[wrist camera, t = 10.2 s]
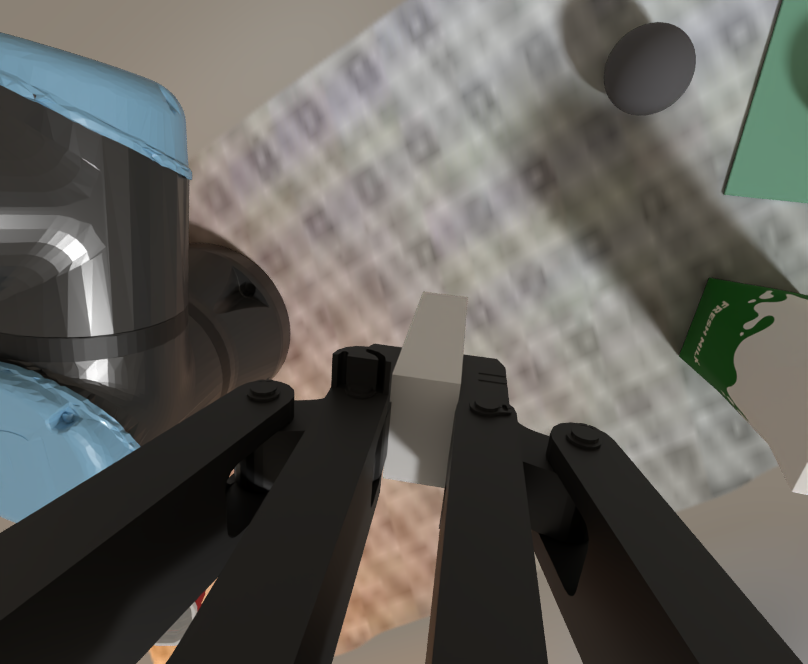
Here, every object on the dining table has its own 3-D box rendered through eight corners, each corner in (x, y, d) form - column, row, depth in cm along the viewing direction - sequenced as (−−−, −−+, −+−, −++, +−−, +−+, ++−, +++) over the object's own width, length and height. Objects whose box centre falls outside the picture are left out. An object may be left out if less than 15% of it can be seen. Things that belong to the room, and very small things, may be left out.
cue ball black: (695, 109, 32) (677, 120, 37) (714, 8, 30) (692, 33, 35) (601, 109, 33) (596, 119, 38) (614, 12, 32) (607, 36, 37)
